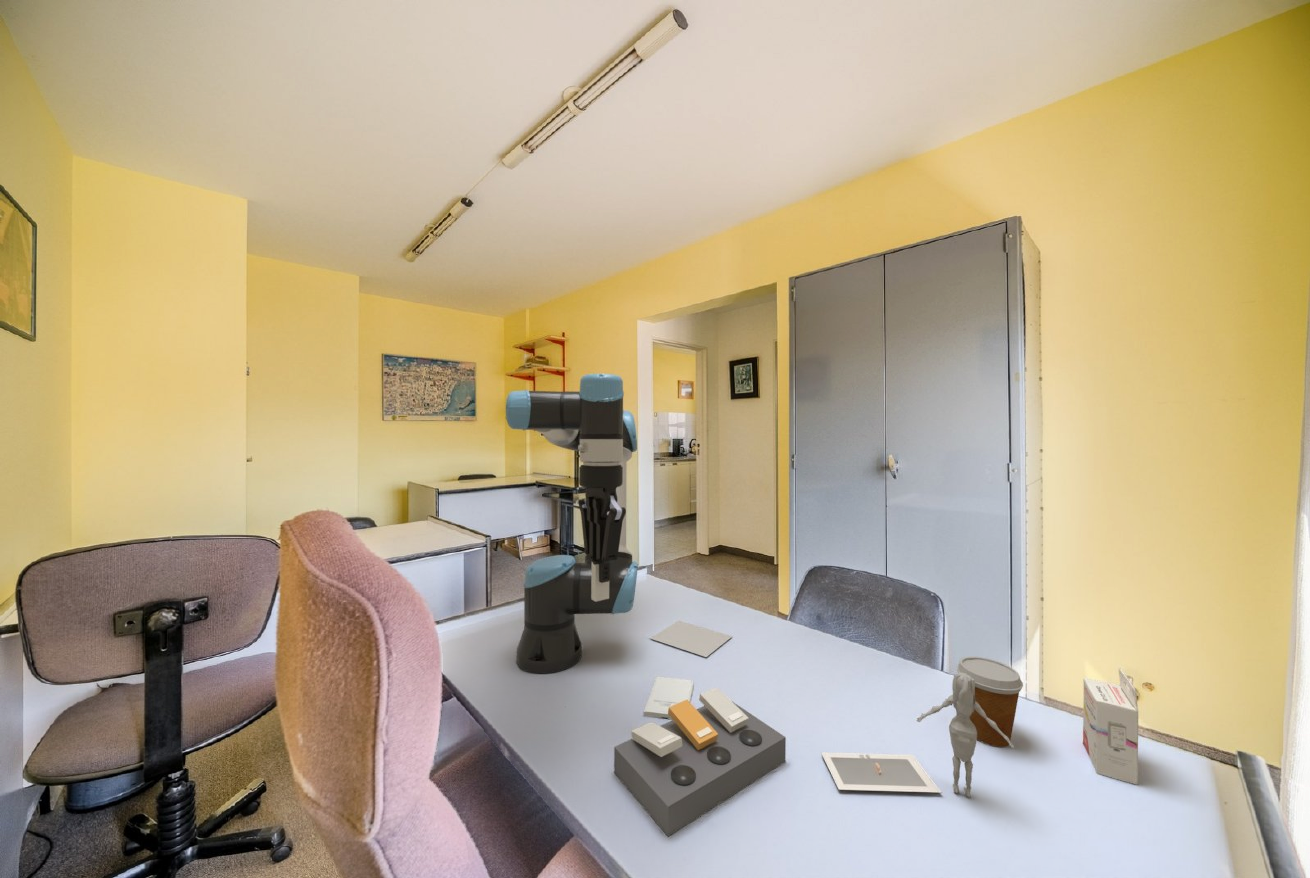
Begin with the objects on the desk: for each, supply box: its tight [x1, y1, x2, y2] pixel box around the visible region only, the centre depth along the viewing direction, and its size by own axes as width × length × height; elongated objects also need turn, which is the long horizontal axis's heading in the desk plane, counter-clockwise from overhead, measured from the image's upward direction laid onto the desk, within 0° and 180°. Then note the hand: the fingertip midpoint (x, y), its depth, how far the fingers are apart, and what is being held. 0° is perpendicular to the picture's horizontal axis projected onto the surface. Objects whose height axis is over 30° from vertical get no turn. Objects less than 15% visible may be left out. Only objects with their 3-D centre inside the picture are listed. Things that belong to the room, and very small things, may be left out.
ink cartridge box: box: [1082, 667, 1139, 786], centre depth 74 cm, size 9×5×15 cm, turn 148°
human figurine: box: [915, 672, 1015, 798], centre depth 67 cm, size 12×4×18 cm, turn 61°
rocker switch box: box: [613, 701, 787, 837], centre depth 73 cm, size 14×24×4 cm, turn 126°
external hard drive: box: [642, 676, 695, 721], centre depth 91 cm, size 2×8×12 cm
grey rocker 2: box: [698, 686, 749, 733], centre depth 78 cm, size 8×4×1 cm, turn 35°
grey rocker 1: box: [631, 721, 682, 757], centre depth 71 cm, size 8×4×1 cm, turn 36°
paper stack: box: [649, 620, 733, 658], centre depth 120 cm, size 23×25×1 cm
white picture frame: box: [820, 752, 942, 793], centre depth 71 cm, size 8×15×2 cm, turn 88°
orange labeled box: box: [668, 700, 718, 750], centre depth 74 cm, size 8×4×1 cm, turn 35°
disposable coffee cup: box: [956, 656, 1024, 748], centre depth 81 cm, size 10×10×12 cm
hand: (600, 598), depth 79 cm, fingers closed
